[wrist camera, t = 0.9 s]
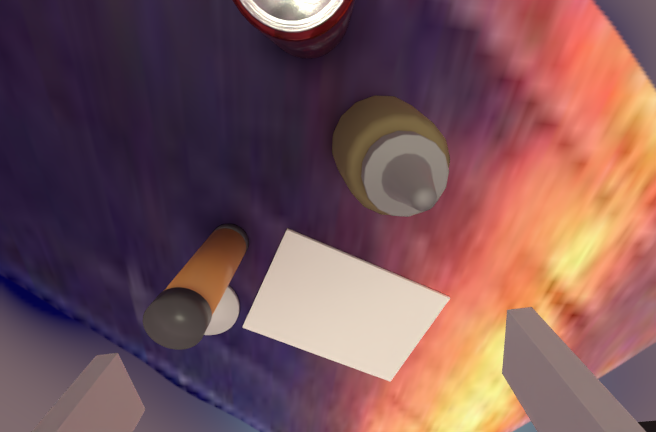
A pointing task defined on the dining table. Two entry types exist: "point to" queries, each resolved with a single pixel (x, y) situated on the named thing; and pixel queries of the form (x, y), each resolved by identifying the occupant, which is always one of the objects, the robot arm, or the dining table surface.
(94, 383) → the robot arm
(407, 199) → the squeeze bottle
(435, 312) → the paper
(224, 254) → the thermos bottle
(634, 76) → the dining table surface
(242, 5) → the soda can
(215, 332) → the coaster
